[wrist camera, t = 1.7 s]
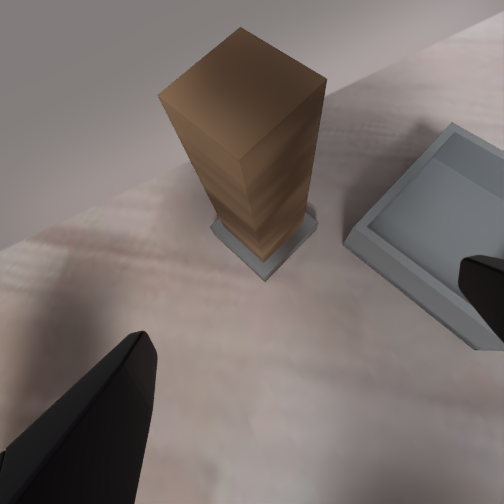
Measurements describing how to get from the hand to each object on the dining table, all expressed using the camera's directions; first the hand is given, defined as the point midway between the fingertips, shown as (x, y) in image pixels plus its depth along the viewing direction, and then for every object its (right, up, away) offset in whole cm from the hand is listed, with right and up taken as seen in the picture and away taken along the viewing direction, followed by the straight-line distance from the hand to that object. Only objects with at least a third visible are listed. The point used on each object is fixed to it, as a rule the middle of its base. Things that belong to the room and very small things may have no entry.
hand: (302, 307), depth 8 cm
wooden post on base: (0, +3, +16) cm, 16 cm away
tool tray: (+14, +2, +14) cm, 19 cm away
